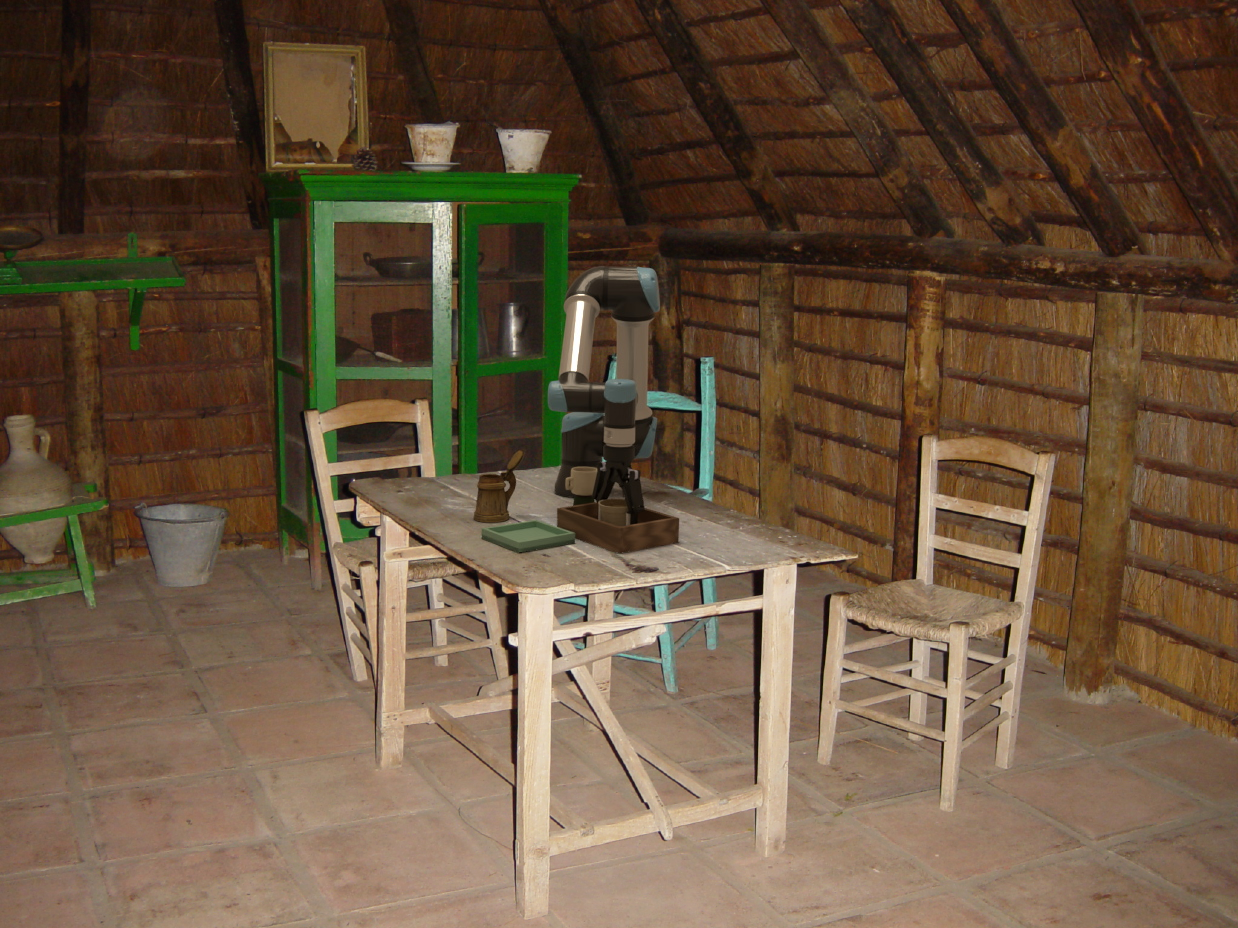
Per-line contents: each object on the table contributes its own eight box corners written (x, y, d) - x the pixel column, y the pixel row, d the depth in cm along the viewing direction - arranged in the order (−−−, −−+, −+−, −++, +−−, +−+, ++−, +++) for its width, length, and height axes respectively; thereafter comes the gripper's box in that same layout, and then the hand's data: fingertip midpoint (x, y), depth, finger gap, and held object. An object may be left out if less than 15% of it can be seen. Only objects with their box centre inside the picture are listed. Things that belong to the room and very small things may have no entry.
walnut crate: (615, 522, 310) (615, 499, 308) (678, 542, 291) (679, 518, 290) (556, 531, 298) (557, 508, 297) (618, 553, 280) (619, 528, 278)
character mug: (595, 513, 319) (596, 464, 316) (608, 519, 313) (609, 469, 310) (558, 517, 313) (559, 468, 311) (571, 523, 307) (572, 473, 305)
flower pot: (608, 543, 288) (609, 508, 287) (591, 534, 297) (591, 500, 295) (643, 539, 293) (644, 505, 291) (625, 531, 301) (625, 497, 299)
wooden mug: (530, 520, 309) (530, 451, 306) (478, 523, 304) (479, 453, 301) (519, 512, 318) (520, 445, 314) (469, 516, 312) (469, 447, 309)
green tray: (536, 529, 300) (536, 519, 300) (574, 543, 288) (575, 532, 287) (481, 538, 290) (481, 528, 290) (519, 553, 278) (519, 542, 278)
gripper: (578, 438, 297) (576, 526, 301) (637, 453, 279) (634, 546, 283) (602, 435, 301) (600, 522, 305) (661, 450, 284) (658, 541, 288)
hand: (617, 534), depth 294 cm, fingers open, 10 cm apart
